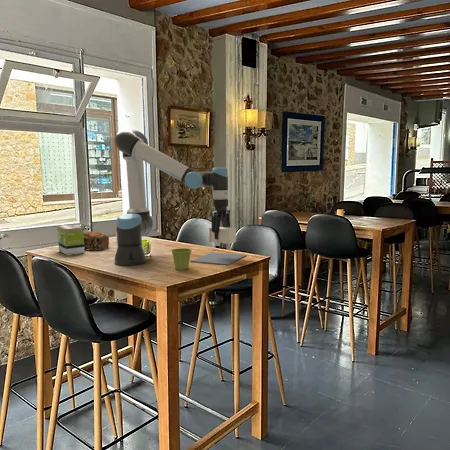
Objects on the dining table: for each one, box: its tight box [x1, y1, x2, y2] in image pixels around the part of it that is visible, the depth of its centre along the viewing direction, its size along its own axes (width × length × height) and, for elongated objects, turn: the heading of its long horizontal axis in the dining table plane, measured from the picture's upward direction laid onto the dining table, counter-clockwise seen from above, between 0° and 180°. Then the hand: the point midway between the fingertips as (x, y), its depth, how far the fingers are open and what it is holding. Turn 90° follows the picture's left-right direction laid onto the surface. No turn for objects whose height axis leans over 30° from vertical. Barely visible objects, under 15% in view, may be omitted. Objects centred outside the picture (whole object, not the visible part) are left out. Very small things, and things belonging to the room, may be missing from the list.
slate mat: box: [190, 251, 246, 266], centre depth 217 cm, size 24×20×1 cm
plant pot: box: [170, 248, 193, 271], centre depth 196 cm, size 9×9×9 cm
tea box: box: [56, 224, 85, 256], centre depth 236 cm, size 15×10×15 cm, turn 37°
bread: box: [83, 231, 110, 251], centre depth 249 cm, size 19×11×10 cm, turn 74°
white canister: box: [208, 226, 237, 245], centre depth 215 cm, size 6×7×12 cm
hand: (221, 244), depth 216 cm, fingers closed on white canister, 6 cm apart
